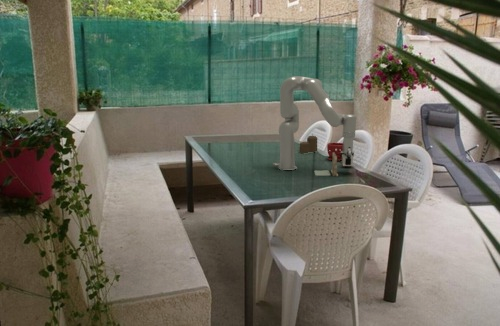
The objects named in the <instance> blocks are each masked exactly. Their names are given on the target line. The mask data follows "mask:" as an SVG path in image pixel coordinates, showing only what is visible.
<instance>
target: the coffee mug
mask: <svg viewBox="0 0 500 326" xmlns="http://www.w3.org/2000/svg"><path fill="white" fill-rule="evenodd" d="M342 154H344V153H343V151H341V155H340V154H336V155H340V157H341V160H342ZM352 155H355V152H354V151H353V152H352ZM354 157H355V156H353V158H354ZM337 162H339V163H340V164H341V168H343V169H351V167H352V168H353V166H343V165H342V161H339V160H337Z"/></svg>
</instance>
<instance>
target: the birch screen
mask: <svg viewBox="0 0 500 326" xmlns="http://www.w3.org/2000/svg"><path fill="white" fill-rule="evenodd" d="M331 162H332V163H331V164H332V168H331V169H330V172H331V173H330V174H331V175H332V176H333V177H338V176H339V173H338V161H337V156H336V154H335V153H333V156H332V161H331Z"/></svg>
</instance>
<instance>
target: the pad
mask: <svg viewBox="0 0 500 326" xmlns="http://www.w3.org/2000/svg"><path fill="white" fill-rule="evenodd" d="M313 172H314V175H315V177H319V176H321V177H323V176H324V177H325V176H326V177H329V176H331V173H330V171H329V170H314V171H313Z"/></svg>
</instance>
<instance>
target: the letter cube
mask: <svg viewBox="0 0 500 326" xmlns="http://www.w3.org/2000/svg"><path fill="white" fill-rule="evenodd" d="M354 155H355V154H354ZM354 155H352V154H351V165H345V161H346V154H342V161H341V162H342V163H341V166H342V165H343V166H352V167H353V166H354V157H355V156H354ZM353 156H354V157H353Z"/></svg>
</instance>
